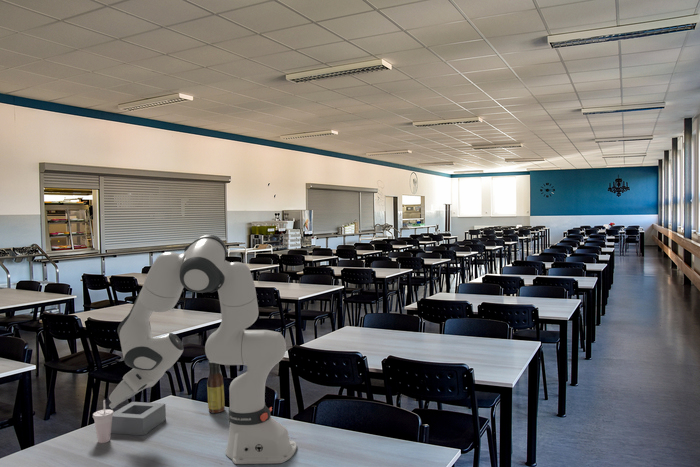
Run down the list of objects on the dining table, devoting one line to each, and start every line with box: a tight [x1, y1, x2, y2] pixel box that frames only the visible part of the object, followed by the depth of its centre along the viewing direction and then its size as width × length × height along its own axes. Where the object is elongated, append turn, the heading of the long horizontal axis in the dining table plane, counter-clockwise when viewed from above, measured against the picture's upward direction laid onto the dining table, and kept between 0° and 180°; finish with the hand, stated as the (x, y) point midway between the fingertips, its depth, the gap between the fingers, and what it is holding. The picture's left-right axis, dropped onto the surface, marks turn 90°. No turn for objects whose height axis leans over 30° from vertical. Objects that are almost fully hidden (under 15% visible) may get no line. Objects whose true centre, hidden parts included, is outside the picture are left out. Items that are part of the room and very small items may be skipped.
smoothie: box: [92, 399, 114, 444], centre depth 173 cm, size 6×6×14 cm
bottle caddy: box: [111, 401, 167, 436], centre depth 185 cm, size 14×14×6 cm
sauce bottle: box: [206, 360, 226, 414], centre depth 198 cm, size 6×6×20 cm
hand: (120, 401), depth 170 cm, fingers open, 8 cm apart
